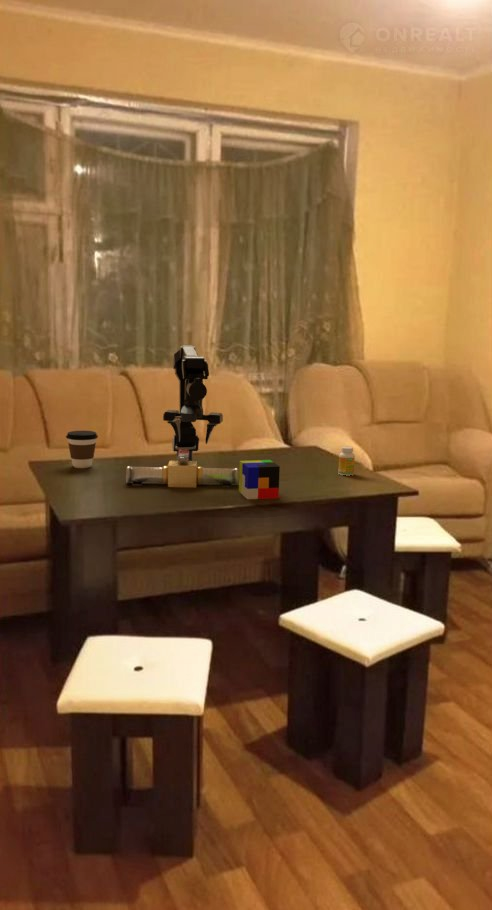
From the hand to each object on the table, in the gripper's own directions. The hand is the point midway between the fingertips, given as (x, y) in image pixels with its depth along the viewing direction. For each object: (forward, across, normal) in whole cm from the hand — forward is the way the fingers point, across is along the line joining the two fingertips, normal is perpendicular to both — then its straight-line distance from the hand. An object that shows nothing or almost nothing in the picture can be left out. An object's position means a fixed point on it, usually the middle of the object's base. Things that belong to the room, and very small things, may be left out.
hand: (192, 442), depth 260 cm
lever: (+6, -3, +1) cm, 7 cm away
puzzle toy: (+13, +24, -12) cm, 29 cm away
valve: (+13, -2, -5) cm, 14 cm away
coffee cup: (+14, -42, +12) cm, 46 cm away
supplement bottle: (+14, +50, +25) cm, 58 cm away
